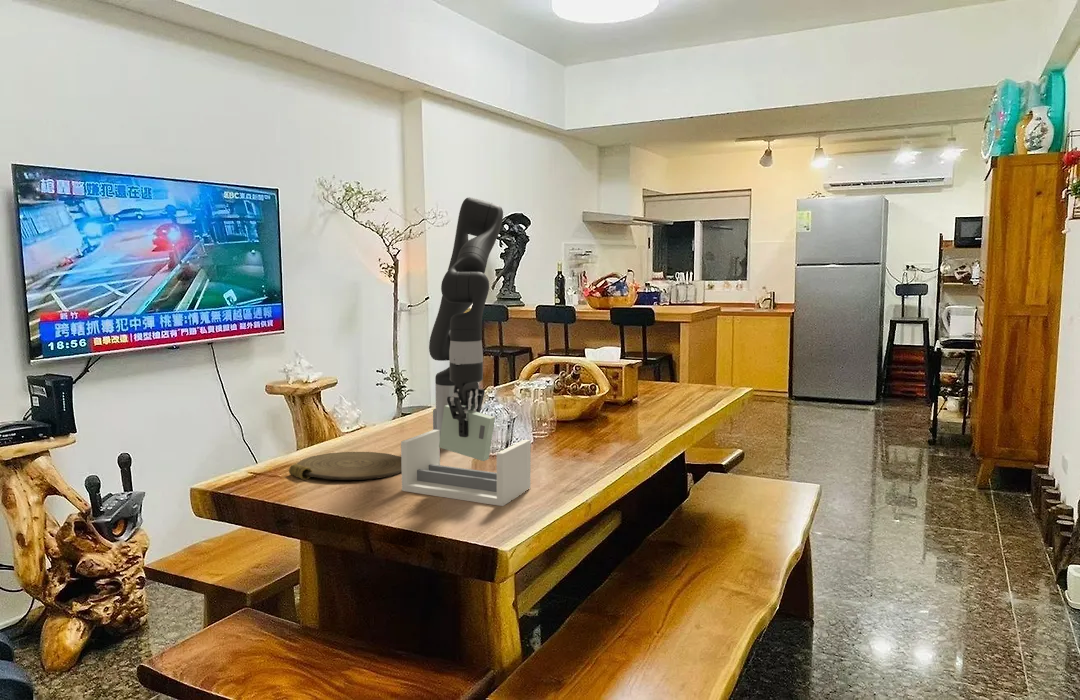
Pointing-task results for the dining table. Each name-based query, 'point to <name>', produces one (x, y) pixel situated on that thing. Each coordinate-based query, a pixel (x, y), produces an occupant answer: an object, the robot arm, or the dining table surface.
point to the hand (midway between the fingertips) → (466, 435)
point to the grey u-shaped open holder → (464, 472)
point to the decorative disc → (348, 466)
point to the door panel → (477, 439)
